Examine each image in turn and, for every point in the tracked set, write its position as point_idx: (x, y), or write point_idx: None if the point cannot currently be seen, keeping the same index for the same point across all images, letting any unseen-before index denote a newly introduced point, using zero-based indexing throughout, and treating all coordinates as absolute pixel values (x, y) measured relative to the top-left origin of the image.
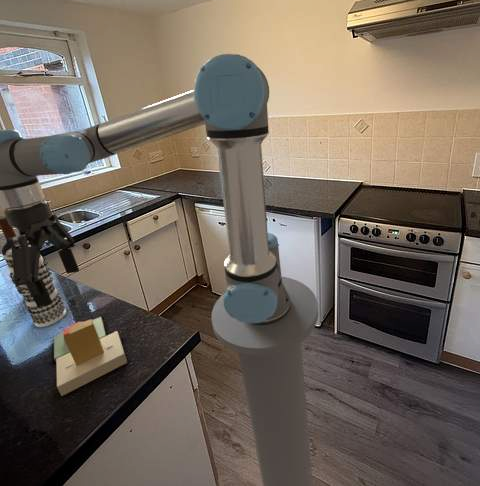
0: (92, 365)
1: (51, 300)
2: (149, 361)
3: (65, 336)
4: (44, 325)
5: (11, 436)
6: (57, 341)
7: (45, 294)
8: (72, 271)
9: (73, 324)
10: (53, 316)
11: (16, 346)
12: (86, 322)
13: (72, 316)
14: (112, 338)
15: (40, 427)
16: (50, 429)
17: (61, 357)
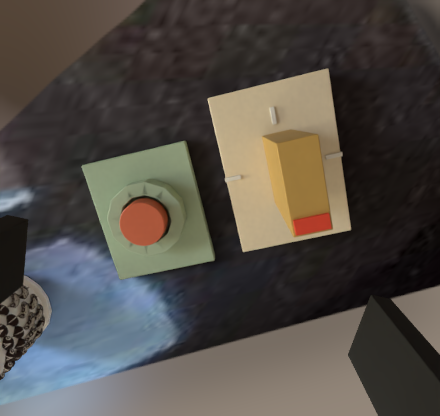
0: (325, 155)
1: (378, 303)
2: (350, 7)
3: (331, 223)
4: (49, 314)
5: (389, 289)
6: (147, 266)
7: (434, 351)
8: (21, 254)
9: (125, 233)
10: (28, 300)
11: (108, 354)
12: (291, 160)
13: (32, 251)
14: (237, 110)
15: (401, 244)
16: (419, 224)
17: (245, 240)
